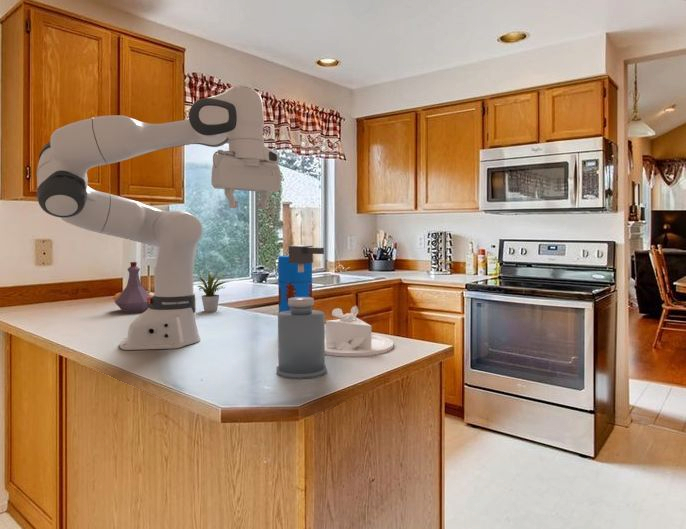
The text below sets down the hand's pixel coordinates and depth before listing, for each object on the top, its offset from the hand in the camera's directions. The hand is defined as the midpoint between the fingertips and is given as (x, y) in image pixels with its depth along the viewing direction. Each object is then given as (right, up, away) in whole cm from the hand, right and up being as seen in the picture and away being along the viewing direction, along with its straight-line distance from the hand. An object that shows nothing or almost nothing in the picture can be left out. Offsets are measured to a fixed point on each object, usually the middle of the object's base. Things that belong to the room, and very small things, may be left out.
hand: (248, 208), depth 129 cm
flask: (-62, -33, +80) cm, 106 cm away
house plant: (-30, -33, +78) cm, 90 cm away
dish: (+26, -38, +18) cm, 50 cm away
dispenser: (+14, -40, -8) cm, 43 cm away
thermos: (+9, -37, +36) cm, 52 cm away
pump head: (+16, -16, -11) cm, 25 cm away
